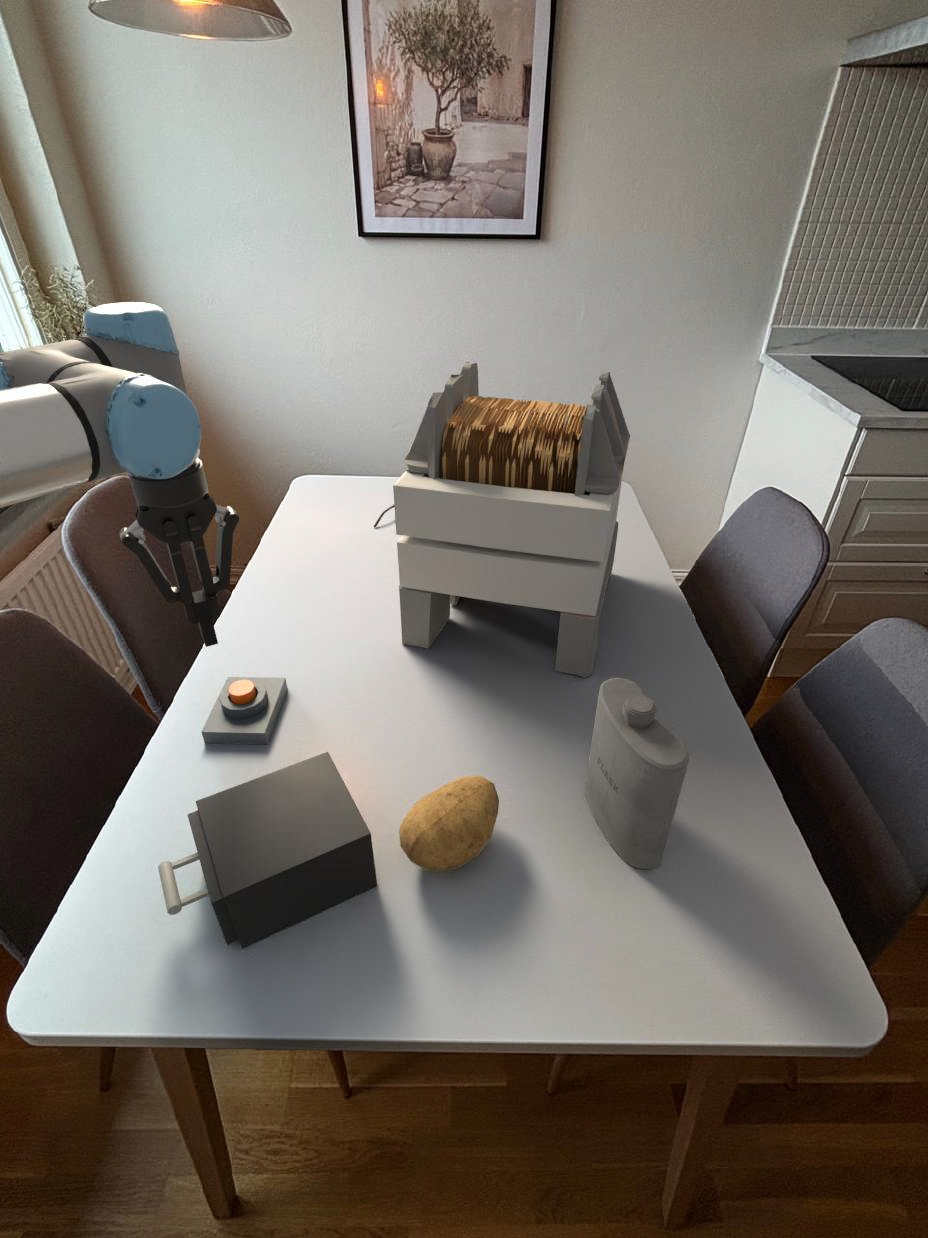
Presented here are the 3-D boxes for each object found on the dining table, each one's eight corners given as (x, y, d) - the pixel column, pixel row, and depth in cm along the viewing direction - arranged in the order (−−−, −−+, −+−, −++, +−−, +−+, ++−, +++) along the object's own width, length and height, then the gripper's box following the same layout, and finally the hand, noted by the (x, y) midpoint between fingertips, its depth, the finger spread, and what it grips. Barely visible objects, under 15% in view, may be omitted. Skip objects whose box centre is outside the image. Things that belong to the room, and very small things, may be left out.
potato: (520, 832, 85) (523, 788, 80) (440, 909, 76) (439, 865, 71) (462, 790, 90) (462, 747, 85) (382, 857, 82) (377, 814, 77)
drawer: (185, 965, 70) (165, 923, 66) (164, 872, 79) (146, 829, 74) (356, 886, 77) (349, 843, 73) (320, 809, 86) (312, 766, 82)
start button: (252, 705, 98) (249, 696, 97) (227, 704, 98) (225, 695, 97) (259, 688, 101) (257, 679, 100) (235, 688, 101) (232, 679, 100)
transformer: (454, 550, 142) (451, 346, 118) (612, 572, 135) (643, 359, 111) (397, 646, 115) (380, 407, 92) (591, 680, 108) (626, 429, 84)
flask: (573, 782, 91) (588, 665, 79) (612, 772, 92) (633, 656, 81) (625, 877, 79) (652, 757, 68) (670, 864, 81) (704, 745, 69)
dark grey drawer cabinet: (241, 950, 72) (223, 897, 67) (213, 853, 82) (195, 801, 76) (377, 886, 78) (370, 833, 73) (336, 803, 88) (327, 751, 83)
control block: (267, 744, 97) (262, 724, 94) (204, 743, 97) (198, 722, 95) (287, 688, 107) (283, 668, 104) (230, 687, 107) (225, 667, 104)
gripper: (218, 441, 78) (253, 611, 92) (94, 461, 73) (150, 639, 86) (234, 462, 73) (268, 640, 86) (102, 486, 68) (160, 671, 81)
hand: (209, 639), depth 86 cm, fingers closed
